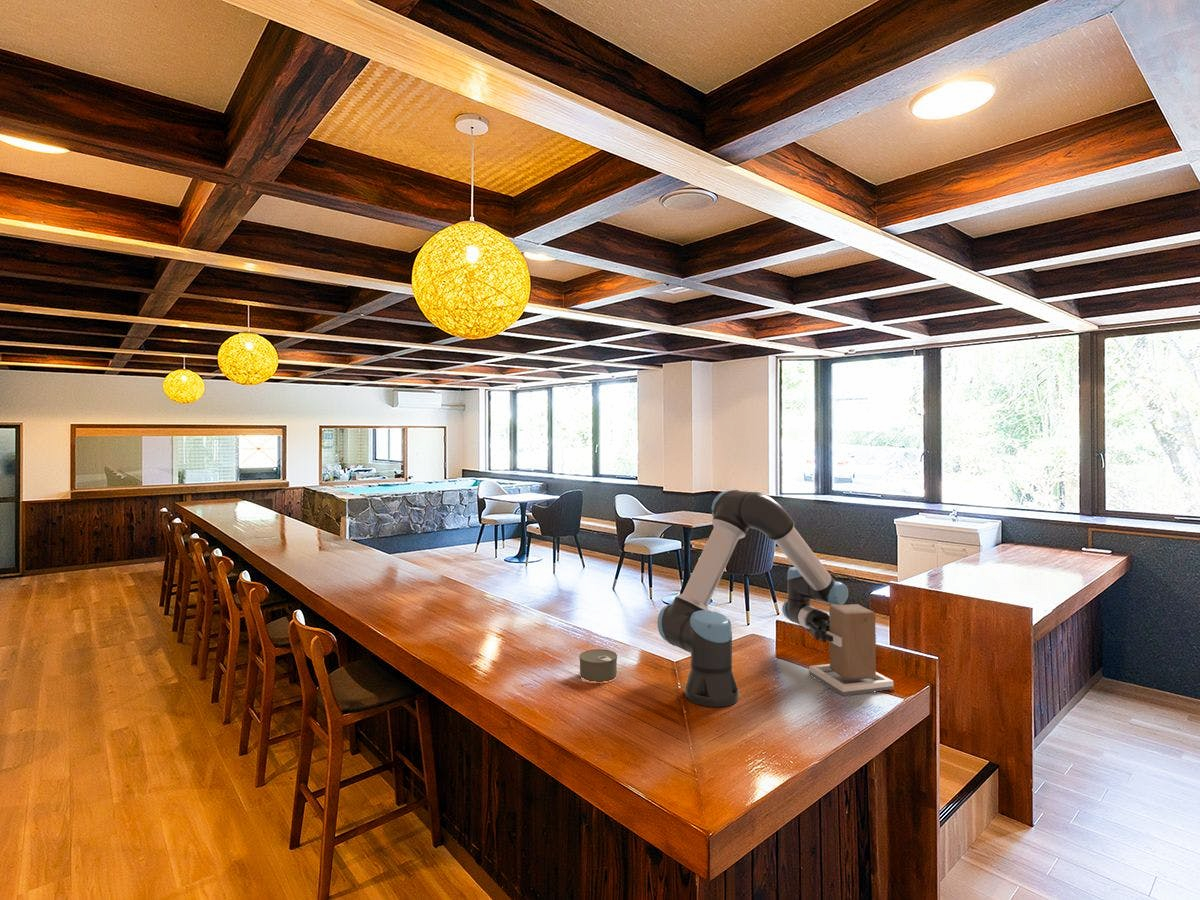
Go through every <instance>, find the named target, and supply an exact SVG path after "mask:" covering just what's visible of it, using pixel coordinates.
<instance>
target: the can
mask: <svg viewBox="0 0 1200 900" xmlns="http://www.w3.org/2000/svg"><path fill="white" fill-rule="evenodd" d="M578 657H579V676H580V675H581V677H582V678H584V679H586V680H589V681H596V682H603V681H609V680H612V679H614V678H615V677H616V675H617V676H618V673H617V670H618V668H617V666H618V662H617V661H618V660H617V659H618V654H617V653H616V652H614V651H612V650H608V649H595V648H594V649H589V650H586V651H583V652H581V653H580V654H579V655H578Z"/></svg>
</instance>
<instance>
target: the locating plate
mask: <svg viewBox="0 0 1200 900" xmlns="http://www.w3.org/2000/svg"><path fill="white" fill-rule="evenodd" d="M809 674H810V675H812V676H813V677H812V676H811V677H812V678H814V677H815V678H816V679H815V678H814V679H815V680H817V679H818V680H820V681H821V682H823V683H824V684H823V683H822V684H823V685H824V686H826V685H827V686H826V687H828V686H829V687H830V688H829V687H828V688H829V689H831V690H832V689H833V691H834V692H836V693H837V694H839V695H840V696H842V697H846V696H847V695H849V696H855V695H854V694H857V695H862V694H861V693H865V694H869V693H868V692H874V691H880V690H889V689H895V688H894V680H893V679H891V678H889V677H887V676H885V675H883V674H881V673H879V672H877V671H876V676H875V678H869V679H851V680H846V679H844V678H843V677H841V676H840V675H839V674H837V673H836V672H835V671H833V670H832V669H831V668H830V663H826V664H815V665H809V666H808V675H809ZM810 675H809V676H810ZM818 680H817V681H818ZM820 681H819V682H820ZM821 682H820V683H821ZM874 693H875V692H874ZM847 697H848V696H847Z"/></svg>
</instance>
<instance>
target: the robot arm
mask: <svg viewBox="0 0 1200 900" xmlns="http://www.w3.org/2000/svg"><path fill="white" fill-rule="evenodd" d="M711 511H712V512H711V516H712V520H711V523H712V526H713V529H712V530H711V533H710V535H709V537H708V540H707V541H706V543H705V546H704V548H703V549H702V551H701V554H700V556H699V558H698V559H697V560H698V561H697V563H696V564H695V567H694V568H693V571H692V573H691V575H690V577H689V579H688V581H687V584H686V585H685V588H684V590H683V592H682V593H680V594H677V595H676V596H675V597H674V598H673V602H672V603H669V604H667V605H665V606H664V607H662V608H661V610H659V611H660V612H659V613H658V617H657V619H656V620H657V621H656V624H657V628H658V629H657V630H658V633H659V635H660V636H661V638H662V639H663V640H664V641H666V642H667V643H668V644H670V645H672V646H673V647H677V648H679V649H681V650H684V651H685V652H688V653H690V670H689V674H688V677H687V681H686V684H685V688H684V691H685V695H686V696H685V697H687V698H688V699H689V700H688V699H687V698H686V699H687V700H688V701H689V702H692V703H693V704H695V705H699V706H702V705H703V707H708V706H709V707H708V708H723V707H728V706H731V705H734V704H736V703H737V702H738V701H739V688H738V686H737V683H736V679H735V676H734V672H733V665H732V664H733V630H732V622H731V620H730V619H729V618H728V617H727V616H726V615H725V614H723V613H720V612H718V611H711V610H709V608H708V606H709V604H710V602H711V599H712V598H713V596H714V594H715V591H716V589H717V587H718V584H719V582H720V580H721V578H722V576H723V573H724V571H725V569H726V567H727V566H728V563H729V560H730V558H731V557H732V554H733V553H734V550H735V548H736V546H737V543H738V541H739V540H740V539H743V538H745V537H746V535H747V534H748V531H749V529H751V530H757V531H759V532H761V533H762V534H764V535H765V536H766V538H767V539H768V540H769V541H773V542H775V544H776V545H777V546H778V548H779V549H780V550H781V552H783V554H784V555H785V556H786V558H787V559H788V560H789V562H790V563H791V564H792V565H793V566H792V567H789V568H788V570H787V577H786V578H787V579H786V581H787V583H786V585H787V599H786V600H785V601H784V602H783V605H782V608H781V610H782V614H783V616H784V617H785V618H786V619H788V620H789V621H791V622H792V623H793V624H794V623H795V624H797V625H800V626H802V627H803V628H804V629H806V631H807V632H809V633H810V634H811V635H812V636H813V638H814V639H815V640H817V641H818V640H820V639H821V643H826V642H829V643H830V642H831V643H833V644H835V645H837V646H839V647H842V637H840V636H838V635H835V634H833V633H831V632H830V620H829V614H828V613H827V612H825V611H823V610H820V609H819V608H816V607H814V606H812V605H811V600H815V601H819V602H821V603H826V604H829V605H845V603H846V601H847V600H848V598H849V589H848V587H847V585H846V584H845V583H843V582H841V581H836V580H835V579H834V578H833V577H832V575H831V574H830V573H829V571H828V570H827V569H826V567H825V566H824V565H823V563H822V562H821V561H820V560H819V558H818V556H816V554H815V553H814V551H813V550H812V548H811V547H809V545H808V543H807V542H806V541H805V540H804V538H803V537H802V536H801V534H800V533H799V531H798V530H797V529H796V527H795V522H794V519H793V518H792V517H791V516H790V514H789V513H788V512H787V510H786V509H785V508H784V507H783V506H782V505H781V504H780V503H778V502H777V501H776V500H775V499H773V498H772V497H771V496H769V495H768V494H766V493H763V492H758V491H748V490H747V491H745V490H743V491H742V490H738V489H732V490H724V491H722V492H720V493H719V494H718V495H716V497H715V498H714V499H713V501H712V504H711ZM876 638H877V634H876V633H875V641H876V642H877V639H876Z"/></svg>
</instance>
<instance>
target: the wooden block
mask: <svg viewBox="0 0 1200 900" xmlns="http://www.w3.org/2000/svg"><path fill="white" fill-rule="evenodd" d="M828 610H829V612H828V613H829V614H828V615H829V620H830V632H831V633H833V634H835V635H838V636H840V637H842V647H839V646H837V645H835V644H833V643H831V642H829V664H830V668H831V669H832V670H833V671H835V672H836V673H837V674H839V675H840V676H841V677H843V678H844V679H846V680H851V679H869V678H875V676H876V672H877V668H876V667H877V666H876V665H877V659H876V657H877V656H876V652H877V651H876V648H877V647H876V644H877V640H876V641H875V634H876V613H875V612H874V611H873V610H871V609H869V608H867V607H864V606H862V605H861V604H858V603H856V604H855V603H851V604H850V603H848V604H843V605H833V604H831V605H829V608H828Z"/></svg>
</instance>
